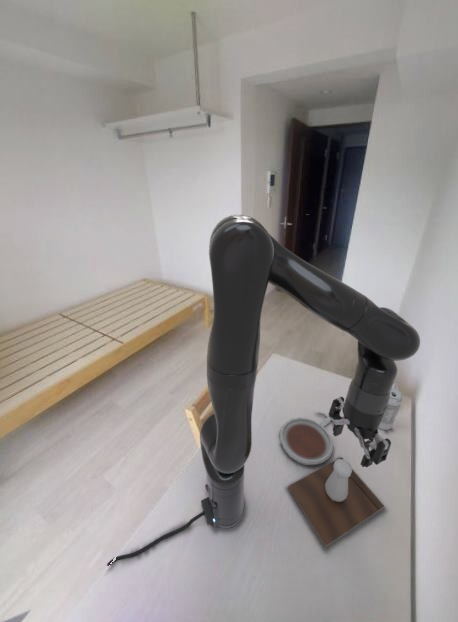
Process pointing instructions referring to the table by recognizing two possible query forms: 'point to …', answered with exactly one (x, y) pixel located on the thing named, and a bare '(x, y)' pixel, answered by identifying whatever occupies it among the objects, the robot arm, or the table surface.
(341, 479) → the salt shaker
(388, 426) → the energy drink can
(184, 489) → the table surface
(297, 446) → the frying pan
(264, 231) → the robot arm
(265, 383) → the table surface
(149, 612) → the table surface
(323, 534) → the serving board
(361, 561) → the table surface
